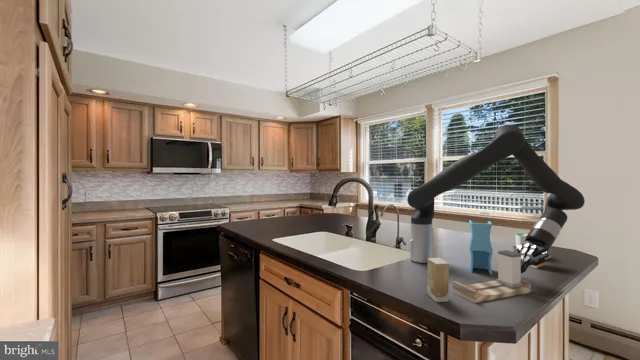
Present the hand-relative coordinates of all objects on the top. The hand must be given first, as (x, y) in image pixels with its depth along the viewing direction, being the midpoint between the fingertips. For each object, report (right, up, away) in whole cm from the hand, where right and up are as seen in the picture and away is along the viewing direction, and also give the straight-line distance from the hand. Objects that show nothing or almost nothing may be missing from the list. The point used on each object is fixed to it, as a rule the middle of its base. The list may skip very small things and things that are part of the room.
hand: (518, 271), depth 100 cm
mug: (+31, -5, +37) cm, 49 cm away
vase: (-3, -6, +18) cm, 19 cm away
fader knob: (-4, -4, -1) cm, 5 cm away
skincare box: (-31, -6, -7) cm, 33 cm away
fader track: (-11, -6, -3) cm, 13 cm away
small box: (+23, -5, +25) cm, 34 cm away
